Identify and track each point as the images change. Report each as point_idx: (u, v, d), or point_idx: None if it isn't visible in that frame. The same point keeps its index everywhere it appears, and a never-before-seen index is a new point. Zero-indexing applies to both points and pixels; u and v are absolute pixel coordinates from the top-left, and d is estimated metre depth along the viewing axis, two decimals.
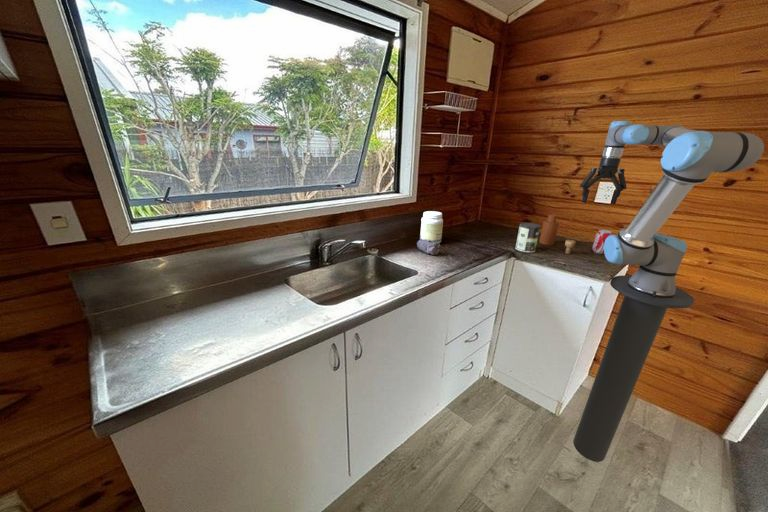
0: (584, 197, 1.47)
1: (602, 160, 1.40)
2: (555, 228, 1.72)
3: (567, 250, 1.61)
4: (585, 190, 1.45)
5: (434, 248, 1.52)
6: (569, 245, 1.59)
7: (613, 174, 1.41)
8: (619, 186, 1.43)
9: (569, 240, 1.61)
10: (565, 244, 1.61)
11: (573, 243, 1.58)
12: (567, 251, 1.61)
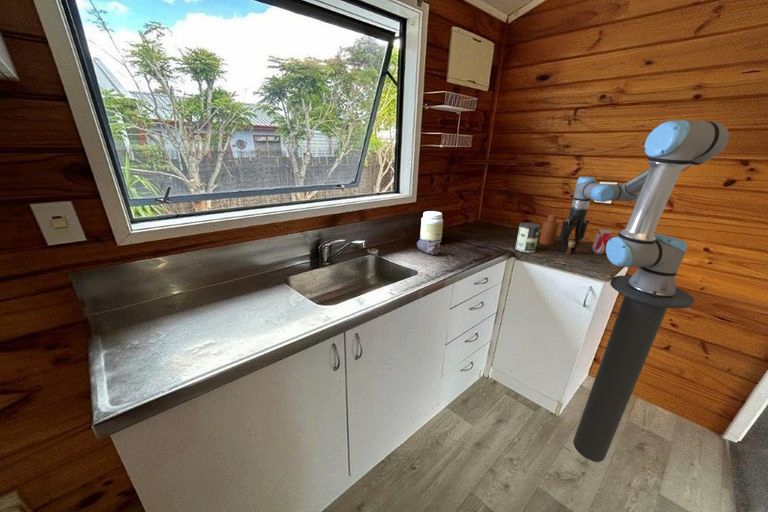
0: (564, 246, 1.61)
1: (572, 211, 1.54)
2: (555, 228, 1.72)
3: (567, 250, 1.61)
4: (565, 241, 1.59)
5: (434, 248, 1.52)
6: (569, 245, 1.59)
7: (581, 223, 1.55)
8: (579, 236, 1.58)
9: (569, 240, 1.61)
10: None
11: (573, 243, 1.58)
12: (567, 251, 1.61)
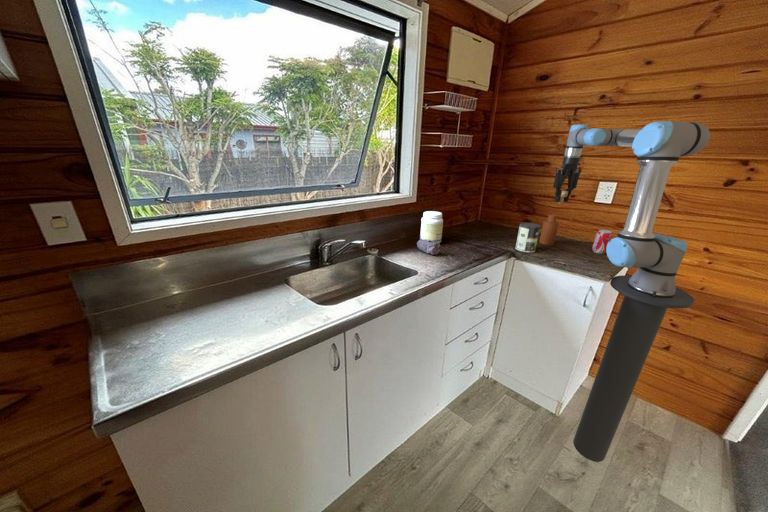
0: (557, 196, 1.65)
1: (565, 159, 1.57)
2: (555, 228, 1.72)
3: (560, 200, 1.65)
4: (558, 190, 1.63)
5: (434, 248, 1.52)
6: (562, 194, 1.63)
7: (574, 171, 1.59)
8: (572, 185, 1.62)
9: (562, 190, 1.65)
10: None
11: (566, 192, 1.62)
12: (560, 201, 1.65)
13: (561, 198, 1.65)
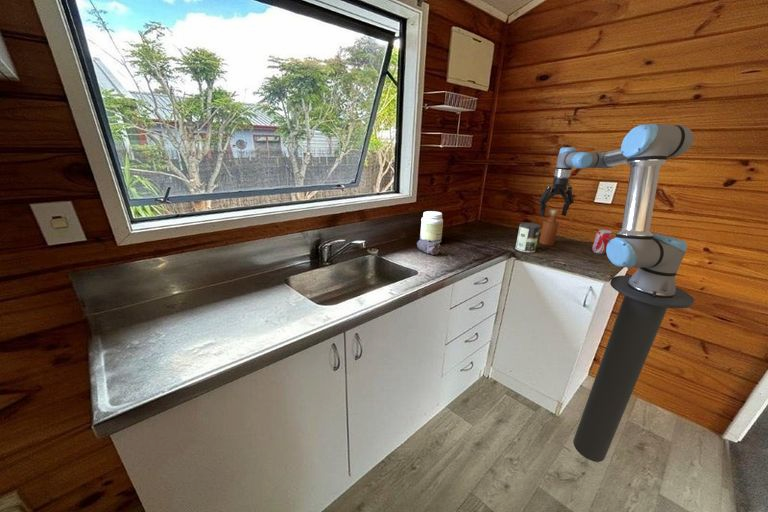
0: (542, 211, 1.71)
1: (555, 180, 1.65)
2: (555, 228, 1.72)
3: None
4: (543, 205, 1.69)
5: (434, 248, 1.52)
6: (552, 213, 1.71)
7: (564, 191, 1.66)
8: (568, 201, 1.70)
9: (552, 209, 1.72)
10: (549, 212, 1.72)
11: (556, 211, 1.70)
12: None
13: None
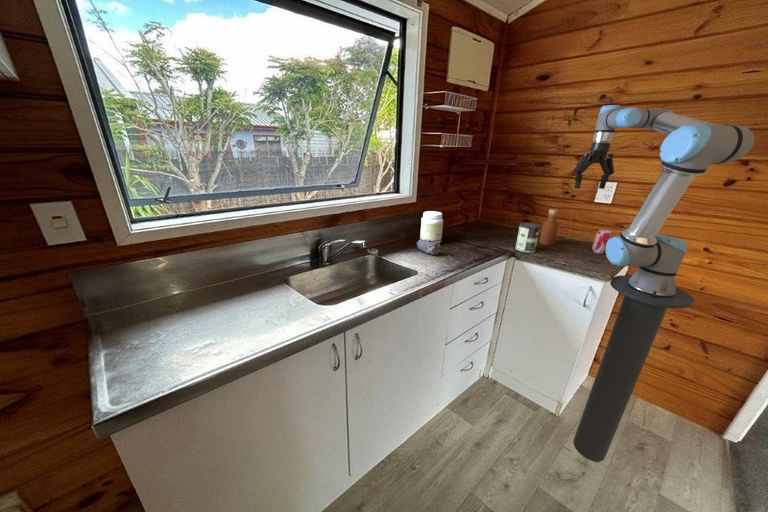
0: (577, 183, 1.47)
1: (594, 145, 1.41)
2: (555, 228, 1.72)
3: None
4: (578, 175, 1.45)
5: (434, 248, 1.52)
6: (552, 213, 1.71)
7: (603, 159, 1.42)
8: (608, 171, 1.46)
9: (552, 209, 1.72)
10: (549, 212, 1.72)
11: (556, 211, 1.70)
12: None
13: None
